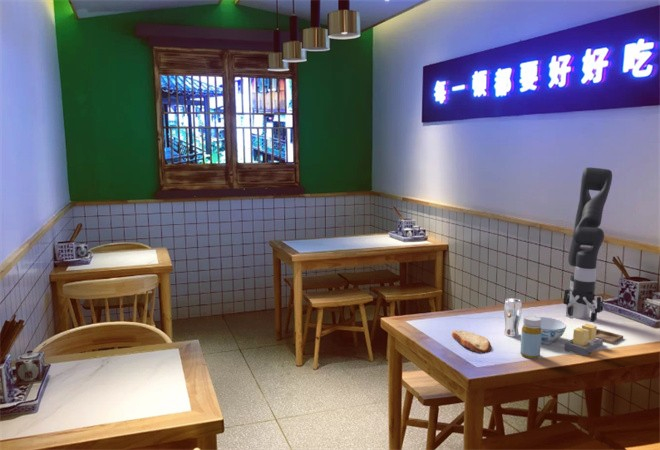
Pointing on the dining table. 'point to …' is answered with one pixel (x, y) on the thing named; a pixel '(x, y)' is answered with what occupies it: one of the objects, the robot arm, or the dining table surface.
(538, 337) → the bottle
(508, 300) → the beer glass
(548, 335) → the chinaware
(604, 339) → the tray
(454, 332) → the slice of bread
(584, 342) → the butter block
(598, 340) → the butter dish
